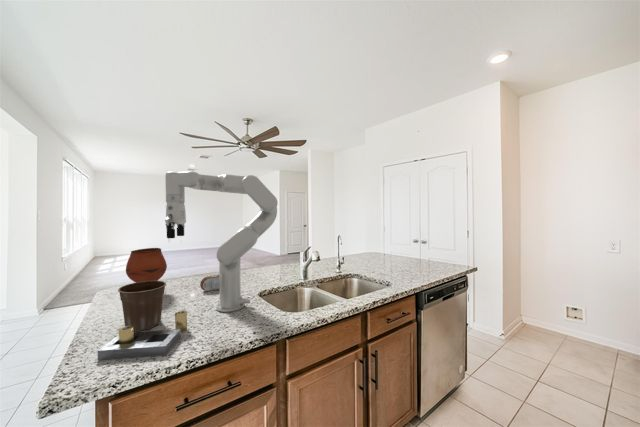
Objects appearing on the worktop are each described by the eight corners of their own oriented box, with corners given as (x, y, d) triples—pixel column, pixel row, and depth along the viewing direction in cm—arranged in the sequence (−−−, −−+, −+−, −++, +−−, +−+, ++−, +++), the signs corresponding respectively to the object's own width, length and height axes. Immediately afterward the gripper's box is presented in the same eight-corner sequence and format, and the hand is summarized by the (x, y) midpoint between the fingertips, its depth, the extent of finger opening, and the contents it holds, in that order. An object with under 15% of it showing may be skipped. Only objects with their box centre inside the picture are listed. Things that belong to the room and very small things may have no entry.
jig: (180, 337, 97) (180, 318, 97) (165, 355, 85) (165, 333, 85) (121, 341, 95) (121, 321, 94) (97, 360, 83) (97, 337, 83)
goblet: (160, 287, 160) (159, 246, 160) (172, 293, 148) (171, 249, 147) (121, 295, 146) (120, 250, 145) (131, 303, 133) (130, 253, 133)
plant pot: (171, 325, 107) (170, 285, 107) (122, 339, 96) (121, 295, 96) (161, 314, 119) (160, 278, 119) (116, 325, 108) (115, 285, 108)
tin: (226, 286, 160) (226, 273, 160) (228, 288, 158) (228, 274, 158) (200, 292, 151) (199, 277, 151) (201, 293, 148) (201, 278, 148)
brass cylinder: (188, 327, 105) (188, 309, 105) (184, 332, 101) (184, 313, 101) (178, 328, 105) (177, 310, 104) (173, 333, 101) (173, 314, 100)
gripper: (175, 198, 112) (176, 239, 112) (191, 199, 129) (191, 235, 129) (156, 198, 111) (157, 239, 111) (175, 200, 128) (175, 235, 129)
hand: (175, 237), depth 120 cm, fingers open, 9 cm apart
